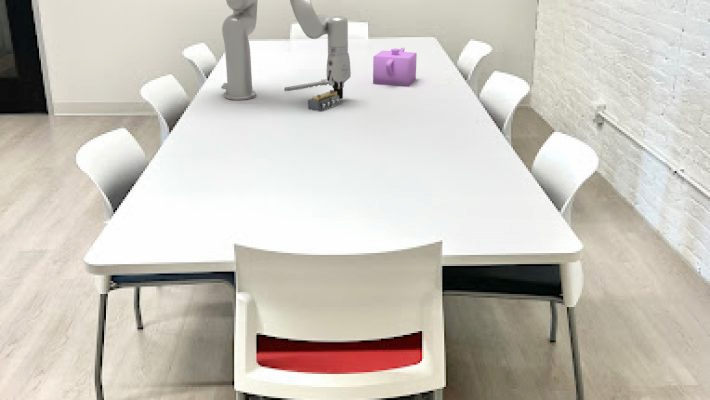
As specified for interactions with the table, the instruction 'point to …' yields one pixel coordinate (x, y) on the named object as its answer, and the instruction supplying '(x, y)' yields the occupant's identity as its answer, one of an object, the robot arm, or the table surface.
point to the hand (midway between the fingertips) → (338, 98)
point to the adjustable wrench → (307, 85)
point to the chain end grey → (334, 100)
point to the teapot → (394, 68)
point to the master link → (325, 95)
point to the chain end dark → (318, 104)
